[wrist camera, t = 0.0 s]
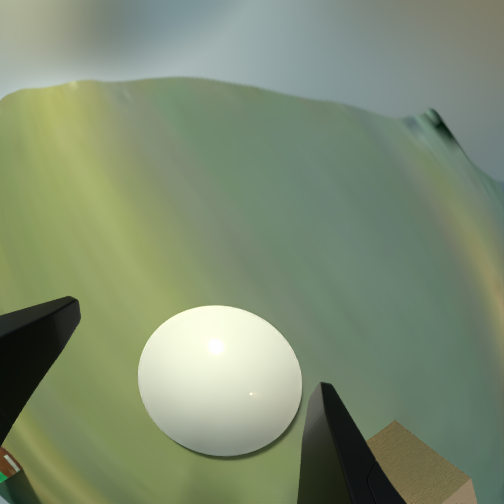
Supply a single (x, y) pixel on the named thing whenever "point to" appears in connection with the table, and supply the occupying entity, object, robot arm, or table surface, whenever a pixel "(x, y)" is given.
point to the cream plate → (220, 380)
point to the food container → (7, 465)
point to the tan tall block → (419, 469)
